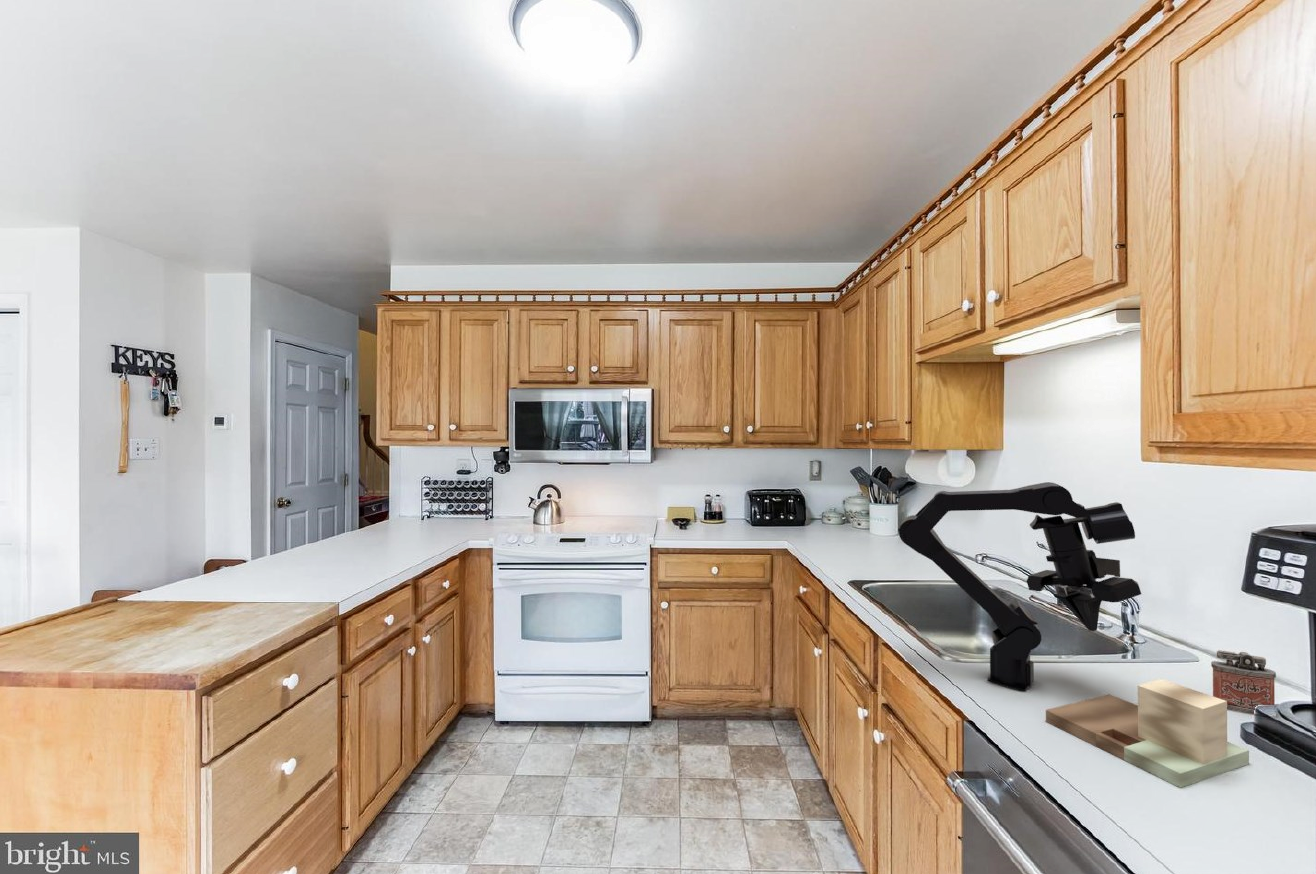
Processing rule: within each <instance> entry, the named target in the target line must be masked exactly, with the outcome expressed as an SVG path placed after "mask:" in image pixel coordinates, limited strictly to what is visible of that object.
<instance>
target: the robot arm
mask: <svg viewBox="0 0 1316 874" xmlns="http://www.w3.org/2000/svg"><path fill="white" fill-rule="evenodd" d="M1072 496H1073V495H1072V493H1070V491H1069V490H1068V489H1067V488H1065V487H1064V486H1062V485H1060V484H1057V483H1056V482H1050V481H1049V482H1047V481H1046V482H1045V481H1044V482H1041V483H1040V482H1039V483H1036V484H1030V485H1024V486H1020V487H1018V488H1011V489H995V490H969V491H968V490H964V491H946V490H939V491H937V492H936V493H934V495H933V497H932V499H930V500H929V501H928V502H927V503H926V504H925V505H924V506H923V507H921V509H920V510H919V511H918V512H917V513H915V515H908V516H907V517H905V518H904V519H903V520H902V521H901V523H900V526H899V530H898V535H899V539H900V540H901V541H902V543H904V544H905V545H906V546H908V547H909V548H911V549H912V550H913V551H915V552H916V553H917V554H920V555H921V556H923V557H925V558H927V559H928V560H931V561H932V562H934V564H935V565H936V566H937V567H938V568H939V569H940V570H942V572H943V573H945V574H946V575H947V576H948V577H949V578H950V579H951V580H952V581H953V583H955V584H956V585H957V586H958V587H960V589H962V590H963V591H964V592H965V593H966V594H967V595H968V596H969V597H971V599H972V600H973V601H974V602H976V603H977V605H978V606H979V607H981V608H982V609H983V610H984V611H985V612H986V614H988V616H989V618H991V620H992V621H993V622H994V624H995V626H996V628H994V629H993V630H992V631H991V632H990V634H991V639H992V642H993V645H992V646H991V647H990V648H989V664H990V665H989V667H990V668H989V669H990V670H989V673H990V674H989V676H988V677H987V682H989V683H992V684H995V685H999V686H1003V687H1006V688H1009V689H1014V690H1016V691H1020V692H1027V690H1028V689H1029V687H1032V685H1033V684H1034V683H1035V681H1034V680H1035V678H1034V677H1035V676H1034V675H1035V673H1034V672H1035V671H1034V670H1035V669H1034V661H1033V660H1031V651H1032V650H1035V649H1036V648H1038V647H1039V646H1040V644H1041V642H1042V633H1041V630H1040V629H1039V627H1038V622H1037V620H1036V618H1035V615H1034V613H1033V612H1031V611H1029V610H1027V609H1026V607H1024V606H1023V605H1022V603H1020V601H1019V600H1018V599H1017V598H1014V599H1013V600H1012V601H1011V602H1010V601H1008V600H1006V599H1004V598H1002V597H1001V596H1000V595H999V594H998V593H997V592H995V590H994V589H992V588H991V587H990V586H989V585H988V584H987V583H986V582H985V581H984V580H982V578H981V577H980V576H979V575H977V574H976V573H975V572H974V571H973V570H972V569H971V568H970V567H969V566H967V564H966V563H964V562H963V561H962V560H961V559H960V558H959V557H958V556H957V555H956V554H954V553H953V552H952V551H951V550H950V549H949V548H948V547H947V546H946V544H944V542H943V541H942V539H941V537H939V535H938V534H937V532H936V531H935V529H934V528H935V526H937V525H938V523H939V522H940V521H941V520H942V519H943V518H944V516H945V515H947V513H949V512H953V511H954V512H956V511H958V512H959V511H967V512H968V511H1002V510H1005V511H1007V510H1008V511H1009V510H1015V511H1022V512H1028V513H1033V514H1036V515H1034V519H1033V520H1032V521H1031V522H1030V524H1029V527H1030V528H1031V529H1032V530H1034V531H1037V530H1043V533H1044V537H1045V539H1046V540H1045V541H1046V543H1047V546H1048V547H1047V548H1048V550H1049V553H1050V554H1048V555H1047V556H1045V558H1046V561H1047V562H1048V563H1049V562H1050V563H1053V565H1054V568H1055V569H1054V570H1051V569H1045V570H1042V571H1038V572H1035V573H1032V574H1029V575H1028V576H1027V579H1026V584H1027V587H1028V589H1029V591H1035V592H1042V591H1043V590H1044V588H1045V587H1046V586H1050V587H1053V588H1054V589H1055V592H1056V593H1055V594H1053V597H1054V598H1055V599H1058V600H1059V601H1060V602H1061V603H1062V604H1063V605H1064V606H1065V607H1066V608H1068V610H1069V611H1070V612H1071V613H1072V614H1073V615H1074V616H1075V617H1076V618H1077V620H1079V621H1080V623H1081V624H1082V625H1083V627H1085V628H1086V630H1088V631H1089V632H1095V631H1097V630H1098V624H1099V615H1100V609H1101V604H1102V602H1106V603H1107V602H1108V603H1119V602H1122V601H1126V600H1129V599H1132V598H1134V597H1137V596H1141V595H1142V591H1141V588H1140V586H1139V583H1138V582H1137V581H1136V580H1134V579H1133V578H1128V577H1121V560H1119V559H1113V558H1112V559H1111V558H1104V557H1103V558H1102V557H1097V555H1096V553H1095V551H1094V550H1093V549H1087V547H1086V544H1085V539H1084V538H1083V537H1084V536H1083V533H1084V535H1085V537H1086V539H1087V540H1092V539H1093V541H1094V542H1095V544H1096V545H1099V544H1100V545H1101V544H1105V543H1112V542H1113V543H1114V542H1120V541H1127V540H1133V539H1136V531H1135V527H1134V525H1133V522H1132V521H1131V520H1130V518H1129V516H1128V514H1127V512H1126V511H1125V509H1124V506H1123V504H1122V503H1120V502H1117V501H1116V502H1110V503H1108V504H1105V505H1098V506H1092V507H1087V508H1085V506H1084V505H1082V504H1081V503H1077V502H1075V501H1074V500H1073V497H1072ZM1039 514H1041V515H1047V516H1048V515H1050V516H1048V517H1042V516H1040V515H1039ZM1061 515H1068V516H1070V517H1071V518H1063V517H1062V516H1061ZM1079 524H1081V527H1082V530H1083V533H1082V531H1081V527H1080V525H1079ZM1106 576H1111V577H1109V578H1106V579H1103V578H1105V577H1106ZM1098 579H1100V580H1098ZM1101 579H1102V580H1101ZM1097 580H1098V581H1097Z"/></svg>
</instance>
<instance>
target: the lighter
mask: <svg viewBox="0 0 1316 874" xmlns="http://www.w3.org/2000/svg"><path fill="white" fill-rule="evenodd" d="M1216 658H1218V659H1221V660H1225V661H1219V660H1218V661H1216V660H1215V661H1213V660H1212V661H1211V662H1210V663H1211V664H1210V665H1211V668H1212V696H1213V697H1216V698H1219V699H1222V700H1225V701H1227V711H1232V712H1237V713H1242V714H1248V715H1253V714H1254V710H1255V707H1256V706H1258V705H1275V704H1276V703H1275V695H1276V694H1275V678H1276V677H1277V672H1276V671H1274V670H1272V669H1270V668H1266V665H1267V659H1266V658H1265V657H1263V656H1259V655H1258V656H1257V655H1250V653H1248V652H1247V651H1240V652H1238V653H1236V652H1235V651H1227V650H1219V649H1218V650H1217V651H1216ZM1256 664H1257V665H1256Z"/></svg>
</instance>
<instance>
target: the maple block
mask: <svg viewBox="0 0 1316 874" xmlns="http://www.w3.org/2000/svg"><path fill="white" fill-rule="evenodd" d="M1137 705H1138V737H1140V738H1143V739H1145V740H1147V741H1150V742H1152V743H1154V744H1157V745H1159V746H1161V747H1163V748H1166V749H1168V750H1170V751H1173V752H1175V753H1177V754H1180V755H1182V756H1184V757H1186V758H1189V759H1191V760H1193V761H1196V762H1198V763H1200V764H1203V765H1204V764H1207V763H1209V762H1212V761H1215V760H1217V759H1220V758H1222V757H1225V756H1227V742H1228V710H1227V701H1225V700H1222V699H1219V698H1216V697H1213V695H1210V694H1208V693H1204V692H1200V691H1198V690H1196V689H1192V688H1190V687H1187V686H1183V685H1181V684H1177V683H1175V682H1172V681H1169V680H1166V679H1163V678H1159V679H1155V680H1152V681H1149V682H1144V683H1141V684H1137Z"/></svg>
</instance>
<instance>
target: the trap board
mask: <svg viewBox="0 0 1316 874" xmlns="http://www.w3.org/2000/svg"><path fill="white" fill-rule="evenodd" d="M1045 722H1046V723H1048V724H1050V725H1053V726H1054V727H1057V728H1058V729H1060V730H1062V731H1064V732H1067V733H1069V734H1070V735H1072V736H1075V737H1076V738H1079V739H1081V740H1083V741H1085V742H1087V743H1089V744H1091V745H1093V746H1094V747H1097V748H1099V749H1101V750H1103V751H1105V752H1107V753H1109V754H1111V755H1113V756H1115V757H1117V758H1119V759H1121V760H1123V761H1126V762H1128V763H1129V764H1131V765H1134V766H1135V767H1137V768H1140V769H1141V770H1143V771H1146V772H1147V773H1149V774H1152V775H1153V776H1156V777H1157V778H1160V779H1161V780H1164V781H1166V782H1168V783H1170V784H1172V785H1174V786H1176V787H1178V788H1184V787H1186V786H1191V785H1193V784H1195V783H1198V782H1201V781H1204V780H1207V779H1210V778H1213V777H1215V776H1218V775H1221V774H1223V773H1227V772H1229V771H1232V770H1235V769H1238V768H1241V767H1244V766H1246V765H1249V764H1250V750H1249V749H1246V748H1244V747H1241V746H1239V745H1237V744H1234V743H1232V742H1229V741H1227V756H1225V757H1222V758H1220V759H1217V760H1215V761H1212V762H1209V763H1207V764H1204V765H1203V764H1200V763H1198V762H1196V761H1193V760H1191V759H1189V758H1186V757H1184V756H1182V755H1180V754H1177V753H1175V752H1173V751H1170V750H1168V749H1166V748H1163V747H1161V746H1159V745H1157V744H1154V743H1152V742H1150V741H1147V740H1145V739H1143V738H1140V737H1138V704H1135V703H1132V702H1129V701H1128V700H1125V699H1123V698H1120V697H1118V696H1116V695H1113V694H1110V693H1108V694H1105V695H1100V696H1096V697H1092V698H1087V699H1084V700H1080V701H1076V702H1073V703H1068V704H1064V705H1060V706H1056V707H1052V708H1049V709H1045Z"/></svg>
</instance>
